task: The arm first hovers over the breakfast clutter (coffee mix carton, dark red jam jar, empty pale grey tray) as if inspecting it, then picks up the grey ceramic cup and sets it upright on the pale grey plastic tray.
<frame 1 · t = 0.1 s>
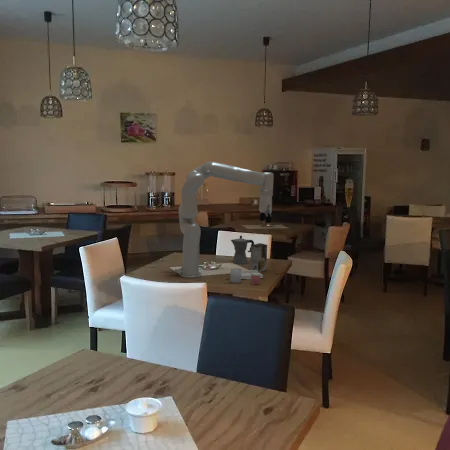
hand: (265, 221, 306), 31 cm above the table, fingers open, 9 cm apart
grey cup: (235, 281, 287), on the table
jam jar: (255, 283, 285), on the table
coffee box: (258, 270, 316), on the table
tray: (248, 276, 299), on the table
coffeepot: (241, 263, 334), on the table
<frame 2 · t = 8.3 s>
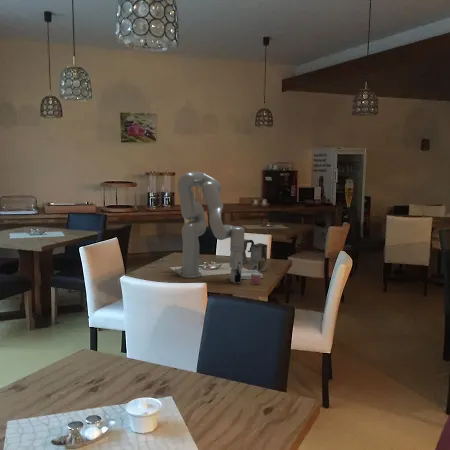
hand: (235, 279, 287), 1 cm above the table, fingers closed on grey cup, 6 cm apart
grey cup: (235, 281, 287), on the table, touching gripper
everything else where it was.
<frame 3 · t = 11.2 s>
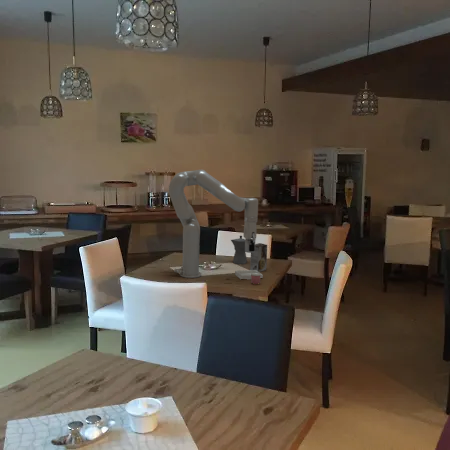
hand: (249, 249, 297), 16 cm above the table, fingers closed on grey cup, 6 cm apart
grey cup: (249, 251, 297), point 15 cm above the table, touching gripper
everything else where it was.
when the fingers open (4 cm above the table, at t = 14.1 s): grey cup drops 2 cm, resting on tray.
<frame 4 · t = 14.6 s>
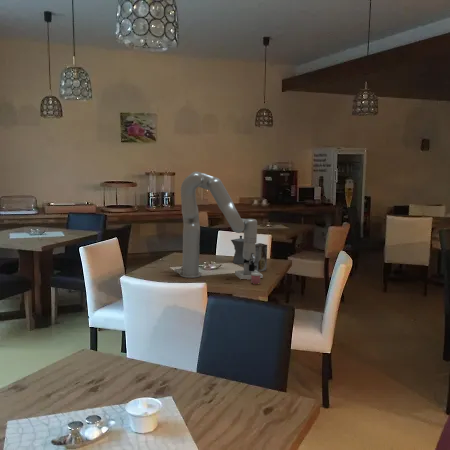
hand: (248, 268, 299), 5 cm above the table, fingers open, 9 cm apart
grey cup: (248, 275, 299), point 1 cm above the table, touching tray
everything else where it was.
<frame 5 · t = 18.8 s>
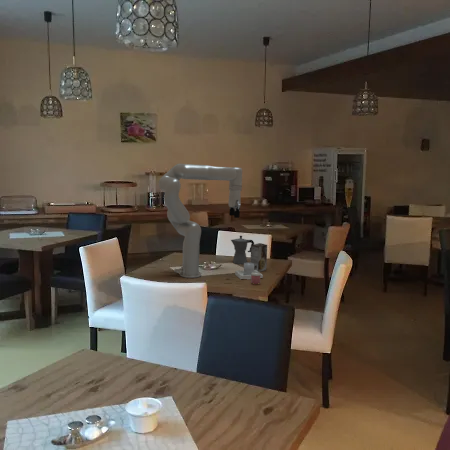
hand: (234, 216, 308), 33 cm above the table, fingers open, 9 cm apart
nothing on the table moved.
at the end: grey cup inside the target area on the tray (0.0 cm from its centre), point 0.8 cm above the tray's base; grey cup tilted 0°; the gripper is holding nothing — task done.
